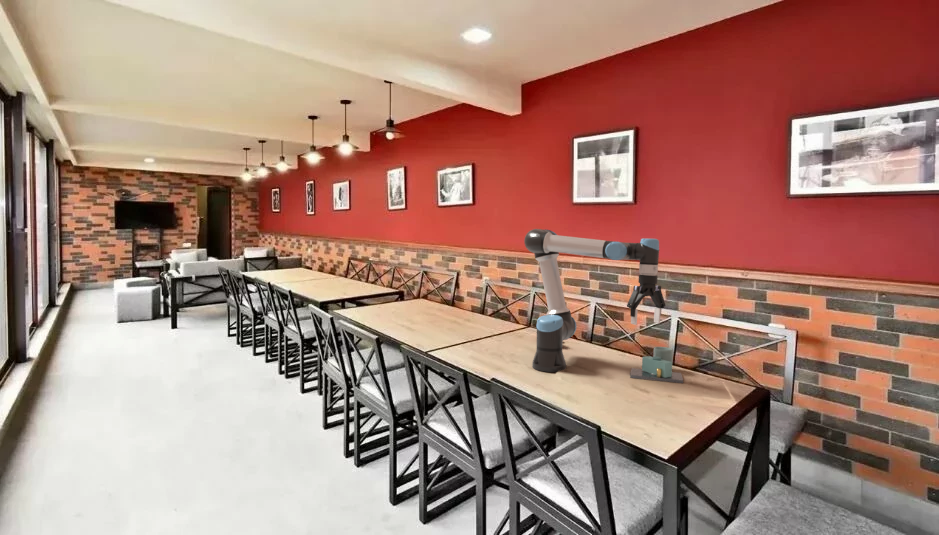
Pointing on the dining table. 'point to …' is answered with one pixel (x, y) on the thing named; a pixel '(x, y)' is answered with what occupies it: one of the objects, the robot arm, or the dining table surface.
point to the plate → (655, 376)
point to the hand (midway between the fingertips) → (645, 323)
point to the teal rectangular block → (656, 366)
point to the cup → (664, 353)
